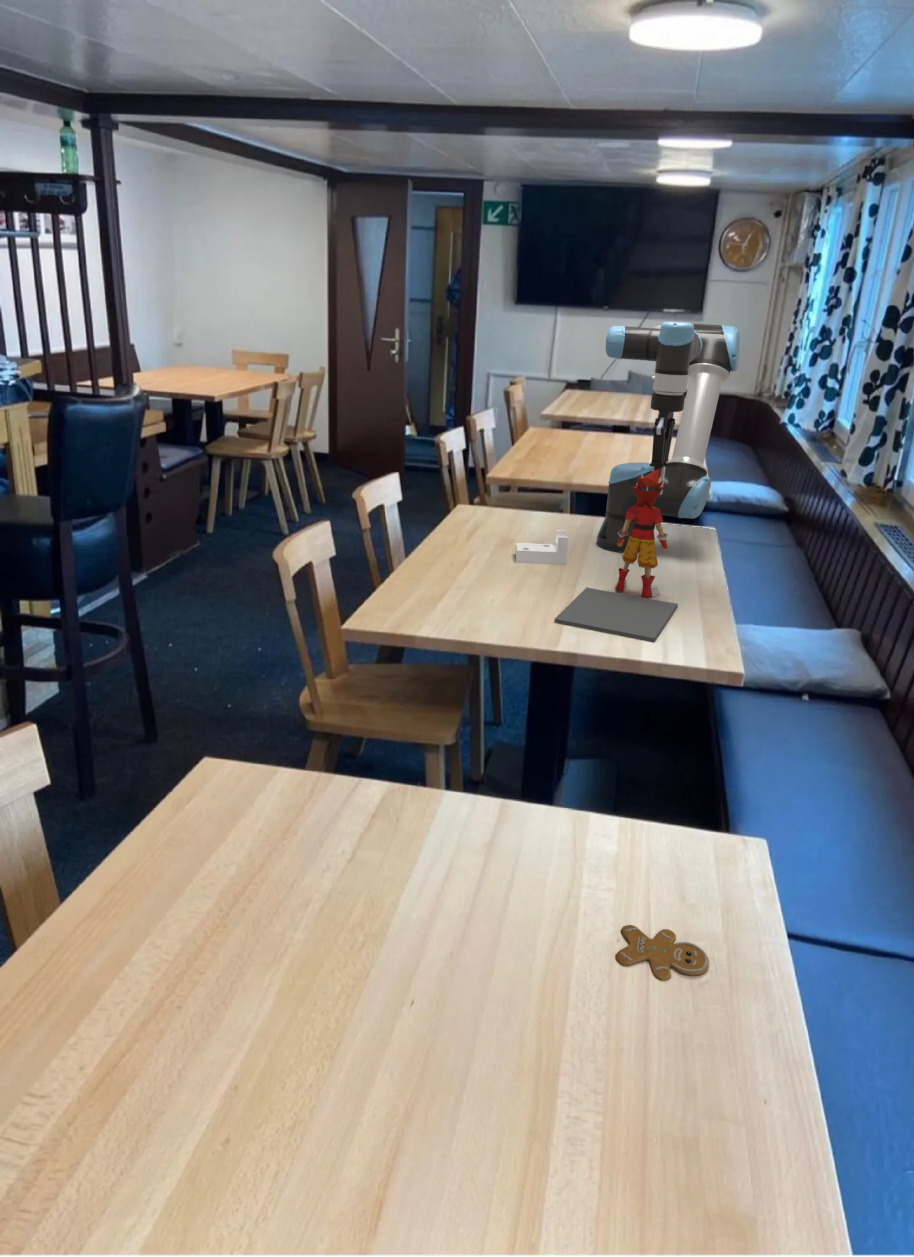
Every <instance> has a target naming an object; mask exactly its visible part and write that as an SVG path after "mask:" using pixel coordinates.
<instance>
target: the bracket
mask: <svg viewBox="0 0 914 1257" xmlns="http://www.w3.org/2000/svg"><path fill="white" fill-rule="evenodd" d="M568 546H569V536H567V530H565V529H555V535H554V544H553V543H552V544H551V543H531V542H529V543H528V542H515V551H514V552H515V561H516V563H522V564H523V563H525V564H548V565H566V564H567V560H568V559H567V556H568Z"/></svg>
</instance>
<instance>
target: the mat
mask: <svg viewBox="0 0 914 1257" xmlns="http://www.w3.org/2000/svg"><path fill="white" fill-rule="evenodd" d="M678 605H679V604H678V603H676V602H670V601H664V600H659V599H654V598H643V597H641V596H636V595H633V594H632V595H631V594H627V593H626V594H625V593H622V592H620V593H619V592H614V591H609V590H603V589H597V588H592V587H585V588H584V590H582V591H581V592H580V593H579V594H578V595H577V596H576V597H575V598H574V599H572V601H571V602H570V603H569V604H568V605H567V606H566V607H565V608H564V609H563V610H562V611H561V612H560V613H559V614H558V615H557V616H556V617H555V618H554V623H557V624H561V625H567V626H572V627H577V628H581V629H587V630H592V631H596V632H597V631H598V632H603V633H606V634H607V633H609V634H612V635H618V636H622V637H627V638H632V639H633V638H634V639H637V640H638V639H639V640H642V641H643V640H644V641H646V642H653V643H655V641H656V640H657V638H658V637H659V635H661V632H662V630H664V628H665V627H666V625H668V622H669V620H670V619H671V618H672V616H673V614H674V612H676V611H677V609H678Z"/></svg>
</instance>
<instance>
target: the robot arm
mask: <svg viewBox="0 0 914 1257" xmlns="http://www.w3.org/2000/svg"><path fill="white" fill-rule="evenodd" d="M605 354H606V355H607V357H609V358H612V359H618V360H634V361H648V362H655V369H654V376H652V377H651V380H652V382H653V384H652V385H653V386H652V390H653V391H654V392H653V393H652V394H651V399H650V400H651V401H650V409H651V410H654V411H657V412H658V413H657V414H658V415H657V417H656V418H655V420H654V425H653V428H652V429H653V431H652V432H653V435H652V436H653V437H652V451H651V462H643V461H642V462H641V461H640V462H626V463H621V464H617V465H615V466H613V467H612V468H611V471H610V475H609V480H608V489H607V490H608V491H607V501H606V507H605V508H606V510H605V517H604V520H603V521H602V523H601V526H600V529H599V530H598V533H597V536H596V545H597V546H598V547H600V548H602V549H605V550H608V551H612V552H618V553H624V551H625V548H626V546H627V543H628V540H629V537H630V535H631V532H632V530H633V527H634V522H635V521H634V520H633V519H632V521H631V524H630V526H629V528H628V533H629V534H628V535H627V536H626V537H625V538H624V542H623V545H622V546H620V547H619V546H618V545H617V543H618V540H619V535H618V533H617V532H619V531H620V530H621V529H622V528H623V527H624V524H625V520H626V519H625V517H626V513H627V509H629V508H631V507H633V506H635V505H636V504H637V500H638V498H637V496H636V494H635V492H634V490H633V488H632V487H636V486H637V485H636V484H637V480H638V477H639V474H640V477H642V475H643V477H644V476H646V475H648V474H650V473H652V472H653V471H655V470H657V469H659V468H660V471H659V478H660V477H661V476H662V478H661V481H660V482H662V481H663V483H662V484H663V486H664V488H663V489H662V491H661V493H660V494H659V496H658V497H657V499H656V501H655V503H654V505H653V507H656V508H658V509H660V512H661V516H668V517H669V516H670V517H675V518H679V519H682V518H684V519H691V520H693V519H695V518H699V516H700V515H701V514H702V512H703V511H704V508H705V505H706V503H707V500H708V498H709V494H710V489H711V488H712V487H711V484H712V479H711V477H709V476H708V470H707V468H706V467H705V466H704V463H705V458H706V454H707V450H708V445H709V441H710V436H711V433H712V432H711V431H712V428H713V423H714V421H715V420H714V419H715V415H716V411H717V405H718V401H719V398H720V392H721V389H722V384H723V383H724V382H725V381H727V380H728V379H729V378H730V374H731V372H736V371H737V370H738V366H739V359H740V332H739V330H738V328H737V327H736V326H734V325H732V326H731V325H724V324H709V323H708V324H705V323H704V324H703V323H692V322H691V323H690V322H682V321H664V322H662V323H661V324H659V325H658V324H657V325H655V326H653V327H638V326H637V327H636V326H627V325H626V326H625V325H613V326H611V327H609V329H608V331H607V334H606V337H605ZM688 379H689V382H688ZM684 393H686V396H685V394H684ZM678 412H679V413H680V412H681V417H680V422H679V425H678V429H677V434H676V439H675V443H674V447H673V451H672V456H671V458H670V460H669V457H670V451H671V446H672V438H673V435H674V429H675V425H676V418H674V415H675V414H674V413H678ZM641 505H643V504H641ZM639 550H640V548H639ZM639 550H638V553H639Z"/></svg>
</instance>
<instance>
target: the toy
mask: <svg viewBox="0 0 914 1257" xmlns="http://www.w3.org/2000/svg"><path fill="white" fill-rule="evenodd" d="M659 471H660V468H659V469H657V470H655V471H653V472H652V473H650V474H648V475H646V476H644V477H643V475H642V477H640V474H639V477H638V480H637V484H636V485H637V486H636V487H632V488H633V490H634V492H635V494H636V496H637V498H638V500H637V504H636V505H635V506H633V507H631V508H629V509H627V513H626V517H625V519H626V520H625V524H624V527H623V528H622V529H621V530H620V531H619V532H617V533H618V535H619V540H618V543H617V545H618V546H619V547H620V546H622V545H623V542H624V538H625V537H626V536H627V535H628V534H629V533H628V528H629V526H630V524H631V521H632V519H633V520H634V521H635V522H634V527H633V530H632V532H631V535H630V537H629V540H628V543H627V546H626V548H625V551H624V552H622V556H621V558H622V561H623V562H624V564H623V568H622V567H619V568H618V573H619V574H618V579H617V581H616V582H615V583H614V589H615V591H616V592H620V593H622V592H623V591H624V590H625V589H626V588H627V586H628V582H627V579H626V578H627V576H628V574H629V572H630V571H631V570H630V569H629V568H630V564H631V565H634V563H635V562H637V565H638V568H644V574H643V575H640V578H641V580H642V581H641V582H642V588H641V594H640V597H643V598H649V599H652V598H653V597H656V596H660V590H659V589H658V587H657V586H656V585H653V582H654V580H655V578H656V576H655V575H652V574H651V573H652V569H655V568H657V567H658V566H659V565H658V564H659V563H658V558H657V549H656V539H657V540H658V542H659V543H660V549H661V553H663V552H665V551H666V550H668V544H667V539H668V537H669V536H668V535H669V534H668V533H665V532H664V528H663V527H662V523H663V522H664V519H663V515H661V512H660V509H658V508H656V507H653V505H654V503H655V501H656V499H657V497H658V496H659V494H660V493H661V491H662V489H663V488H664V486H663V484H662V483H663V481H662V482H660V481H661V478H662V476H661V477H660V478H659ZM641 504H643V505H641ZM655 529H656V531H657V532H658V534H657V535H656V537H655ZM655 538H656V539H655ZM639 548H640V550H639ZM638 550H639V552H638Z"/></svg>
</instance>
